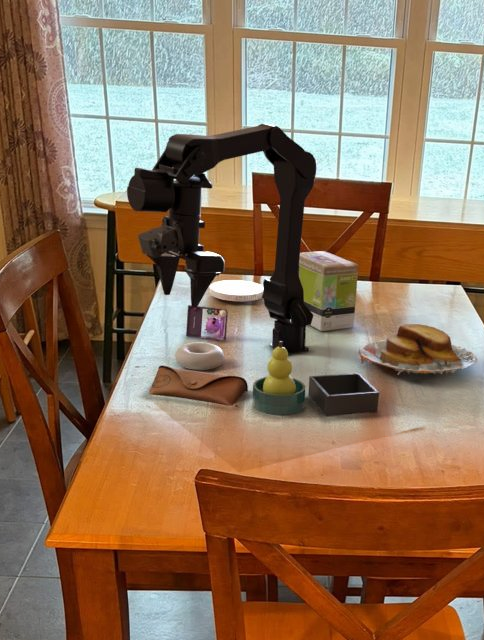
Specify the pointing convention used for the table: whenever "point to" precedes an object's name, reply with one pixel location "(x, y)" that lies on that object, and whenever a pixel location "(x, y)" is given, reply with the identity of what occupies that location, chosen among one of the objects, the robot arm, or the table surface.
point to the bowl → (278, 399)
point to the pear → (279, 373)
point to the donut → (199, 356)
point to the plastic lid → (236, 290)
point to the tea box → (329, 289)
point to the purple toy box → (212, 324)
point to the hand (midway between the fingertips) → (180, 300)
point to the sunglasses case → (198, 386)
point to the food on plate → (418, 351)
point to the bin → (343, 394)
